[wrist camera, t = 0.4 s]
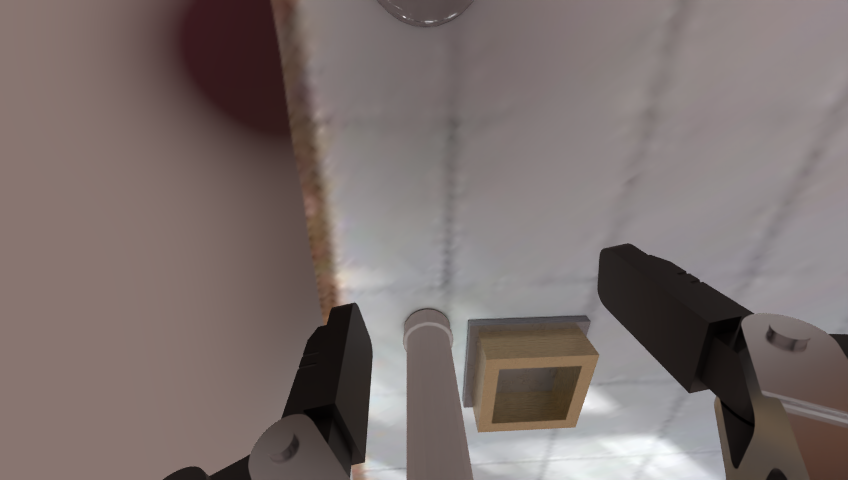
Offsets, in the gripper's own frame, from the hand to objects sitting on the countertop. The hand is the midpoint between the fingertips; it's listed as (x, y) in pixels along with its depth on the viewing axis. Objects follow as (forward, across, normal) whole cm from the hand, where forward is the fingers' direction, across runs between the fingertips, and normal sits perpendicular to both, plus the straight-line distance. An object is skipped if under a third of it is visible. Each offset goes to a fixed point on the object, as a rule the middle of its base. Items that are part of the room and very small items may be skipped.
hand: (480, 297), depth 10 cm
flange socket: (+19, -7, +27) cm, 34 cm away
